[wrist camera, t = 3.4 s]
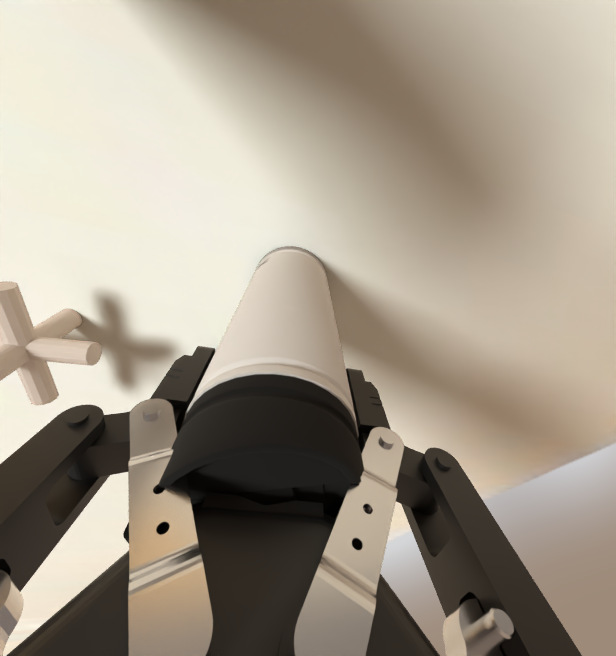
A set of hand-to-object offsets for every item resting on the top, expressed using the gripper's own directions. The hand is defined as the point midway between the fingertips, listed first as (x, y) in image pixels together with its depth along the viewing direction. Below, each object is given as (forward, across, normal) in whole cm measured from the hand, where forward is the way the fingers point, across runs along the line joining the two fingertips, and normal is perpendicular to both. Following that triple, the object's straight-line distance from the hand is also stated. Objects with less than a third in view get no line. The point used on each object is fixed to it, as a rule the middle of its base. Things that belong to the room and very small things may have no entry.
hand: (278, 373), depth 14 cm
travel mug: (+13, 0, 0) cm, 13 cm away
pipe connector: (+13, +19, +7) cm, 24 cm away
